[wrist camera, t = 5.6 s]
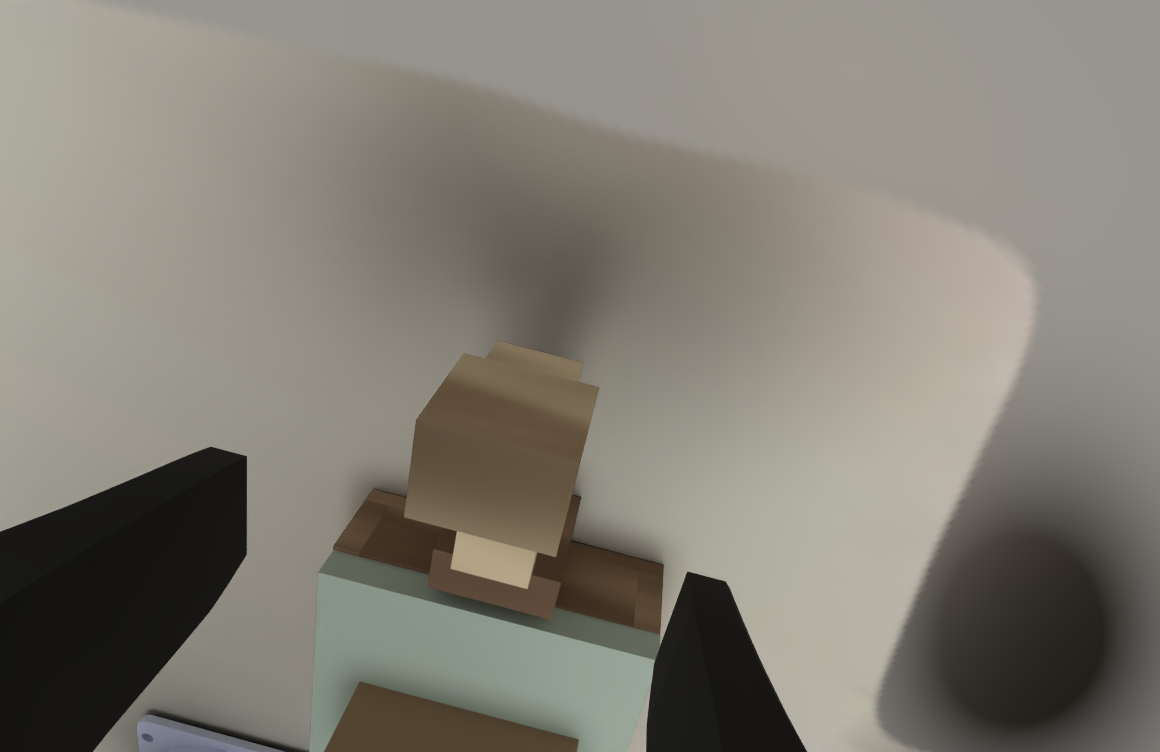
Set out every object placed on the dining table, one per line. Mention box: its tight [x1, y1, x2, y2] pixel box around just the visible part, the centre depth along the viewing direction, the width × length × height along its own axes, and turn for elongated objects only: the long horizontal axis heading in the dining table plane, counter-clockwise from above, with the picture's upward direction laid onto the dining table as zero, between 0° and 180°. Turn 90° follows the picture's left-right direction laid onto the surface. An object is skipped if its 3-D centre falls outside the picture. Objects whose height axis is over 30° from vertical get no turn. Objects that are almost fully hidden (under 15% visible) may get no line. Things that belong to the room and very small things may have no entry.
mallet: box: [404, 341, 599, 589], centre depth 16 cm, size 6×3×4 cm, turn 168°
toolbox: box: [333, 489, 664, 634], centre depth 24 cm, size 13×10×4 cm
